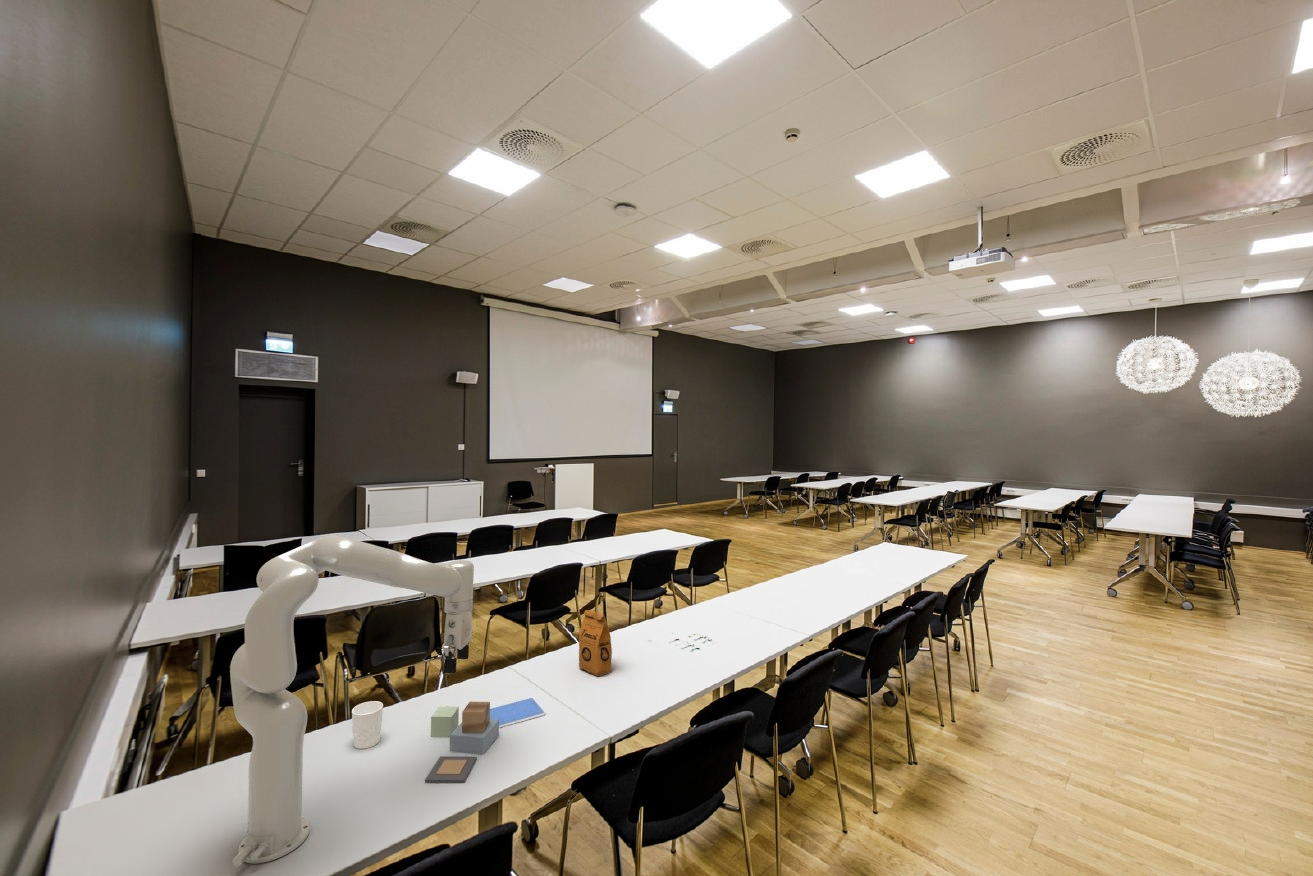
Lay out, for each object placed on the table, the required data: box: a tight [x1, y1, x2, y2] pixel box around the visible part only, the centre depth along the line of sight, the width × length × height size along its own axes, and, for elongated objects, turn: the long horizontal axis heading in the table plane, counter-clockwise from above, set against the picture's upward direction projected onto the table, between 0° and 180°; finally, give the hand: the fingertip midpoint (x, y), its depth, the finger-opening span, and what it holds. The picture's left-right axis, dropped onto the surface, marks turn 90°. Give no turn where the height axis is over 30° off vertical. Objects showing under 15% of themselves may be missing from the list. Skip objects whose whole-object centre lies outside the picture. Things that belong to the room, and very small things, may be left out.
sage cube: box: [430, 706, 460, 738], centre depth 160 cm, size 6×6×6 cm
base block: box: [449, 719, 500, 756], centre depth 154 cm, size 10×10×5 cm
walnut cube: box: [461, 701, 491, 733], centre depth 154 cm, size 6×6×6 cm
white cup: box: [351, 700, 384, 750], centre depth 154 cm, size 8×8×10 cm
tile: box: [424, 755, 478, 784], centre depth 141 cm, size 10×10×1 cm
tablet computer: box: [490, 697, 546, 729], centre depth 170 cm, size 19×13×1 cm, turn 123°
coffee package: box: [578, 609, 613, 678], centre depth 204 cm, size 10×12×22 cm
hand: (456, 665), depth 152 cm, fingers open, 9 cm apart
